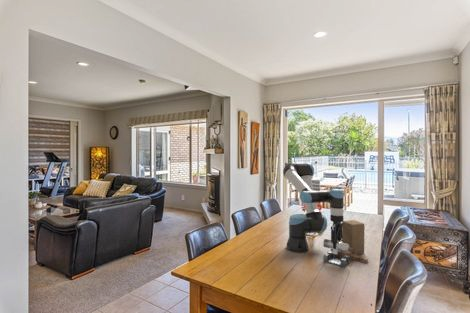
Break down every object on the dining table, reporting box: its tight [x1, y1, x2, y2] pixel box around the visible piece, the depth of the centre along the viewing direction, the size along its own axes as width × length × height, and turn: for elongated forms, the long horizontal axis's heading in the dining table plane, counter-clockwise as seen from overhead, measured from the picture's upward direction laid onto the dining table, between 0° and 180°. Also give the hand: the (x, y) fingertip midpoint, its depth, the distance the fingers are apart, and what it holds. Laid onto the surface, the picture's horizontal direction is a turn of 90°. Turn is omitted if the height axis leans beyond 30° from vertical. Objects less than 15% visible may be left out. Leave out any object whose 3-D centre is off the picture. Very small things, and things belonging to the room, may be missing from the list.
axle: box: [322, 238, 349, 252], centre depth 162 cm, size 14×5×5 cm, turn 49°
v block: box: [322, 250, 351, 268], centre depth 162 cm, size 13×9×4 cm
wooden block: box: [341, 219, 365, 255], centre depth 179 cm, size 10×10×20 cm
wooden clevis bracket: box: [330, 247, 369, 264], centre depth 168 cm, size 20×11×5 cm, turn 49°
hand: (336, 252), depth 162 cm, fingers closed on axle, 5 cm apart
